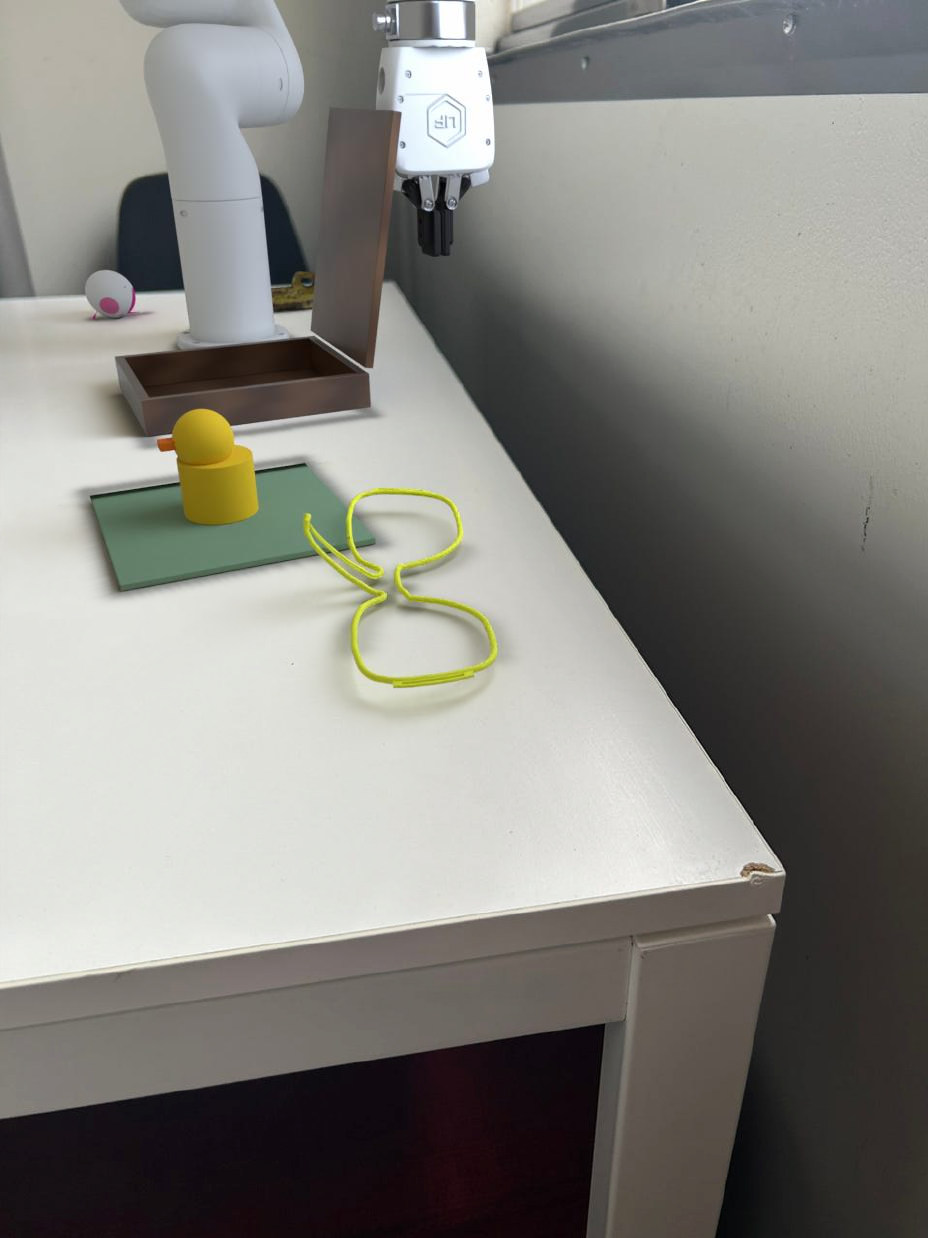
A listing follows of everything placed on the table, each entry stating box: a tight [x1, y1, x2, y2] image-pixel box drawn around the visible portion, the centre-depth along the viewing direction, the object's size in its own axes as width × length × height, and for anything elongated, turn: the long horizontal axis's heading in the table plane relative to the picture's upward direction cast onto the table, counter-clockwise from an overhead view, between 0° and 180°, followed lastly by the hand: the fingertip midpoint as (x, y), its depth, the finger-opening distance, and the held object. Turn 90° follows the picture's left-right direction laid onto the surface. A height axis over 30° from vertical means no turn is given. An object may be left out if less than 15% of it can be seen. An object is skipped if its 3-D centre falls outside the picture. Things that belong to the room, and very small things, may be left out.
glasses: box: [303, 487, 499, 689], centre depth 57 cm, size 25×10×5 cm, turn 7°
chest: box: [114, 335, 372, 438], centre depth 91 cm, size 20×17×4 cm
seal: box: [271, 270, 315, 312], centre depth 132 cm, size 9×5×15 cm
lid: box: [310, 106, 402, 369], centre depth 89 cm, size 20×17×1 cm
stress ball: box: [84, 269, 139, 320], centre depth 127 cm, size 8×8×7 cm
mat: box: [89, 462, 377, 592], centre depth 68 cm, size 18×16×1 cm
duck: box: [156, 409, 259, 525], centre depth 66 cm, size 6×5×7 cm
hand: (435, 253), depth 93 cm, fingers closed
